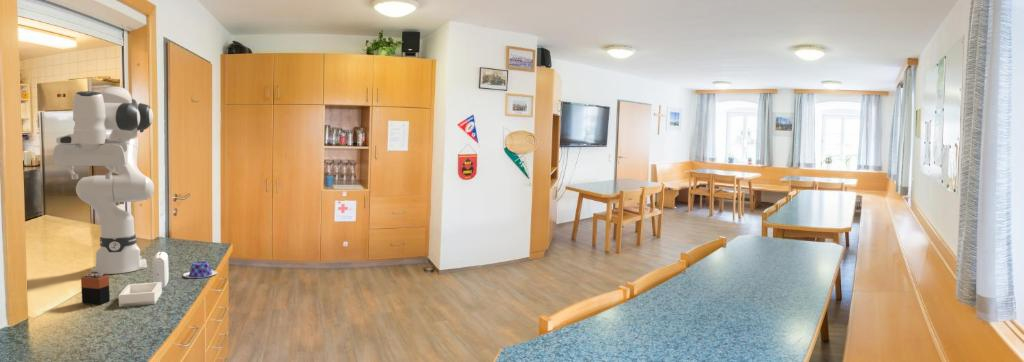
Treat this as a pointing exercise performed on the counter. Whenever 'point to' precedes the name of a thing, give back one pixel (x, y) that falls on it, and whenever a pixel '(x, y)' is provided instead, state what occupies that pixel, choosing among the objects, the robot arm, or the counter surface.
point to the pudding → (200, 270)
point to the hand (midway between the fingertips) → (91, 179)
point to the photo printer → (160, 268)
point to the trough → (140, 294)
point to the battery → (95, 289)
